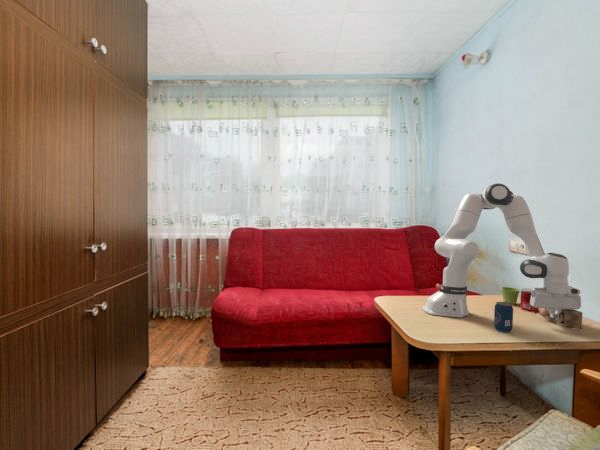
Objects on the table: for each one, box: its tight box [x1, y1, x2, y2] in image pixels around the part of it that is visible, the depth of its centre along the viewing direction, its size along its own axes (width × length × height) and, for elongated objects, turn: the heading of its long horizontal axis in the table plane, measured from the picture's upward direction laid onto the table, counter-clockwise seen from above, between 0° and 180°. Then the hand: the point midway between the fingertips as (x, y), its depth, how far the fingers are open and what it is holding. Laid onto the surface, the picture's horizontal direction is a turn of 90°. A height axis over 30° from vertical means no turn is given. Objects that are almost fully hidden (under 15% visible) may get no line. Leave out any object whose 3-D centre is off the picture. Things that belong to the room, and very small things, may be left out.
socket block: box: [543, 308, 583, 330], centre depth 148 cm, size 7×14×8 cm, turn 175°
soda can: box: [493, 301, 514, 333], centre depth 138 cm, size 7×7×12 cm
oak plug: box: [555, 313, 564, 322], centre depth 144 cm, size 8×4×4 cm, turn 85°
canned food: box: [519, 287, 540, 313], centre depth 168 cm, size 8×8×11 cm
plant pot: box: [500, 286, 521, 306], centre depth 179 cm, size 9×9×9 cm
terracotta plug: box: [539, 308, 550, 318], centre depth 151 cm, size 8×4×4 cm, turn 85°
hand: (554, 317), depth 145 cm, fingers closed
